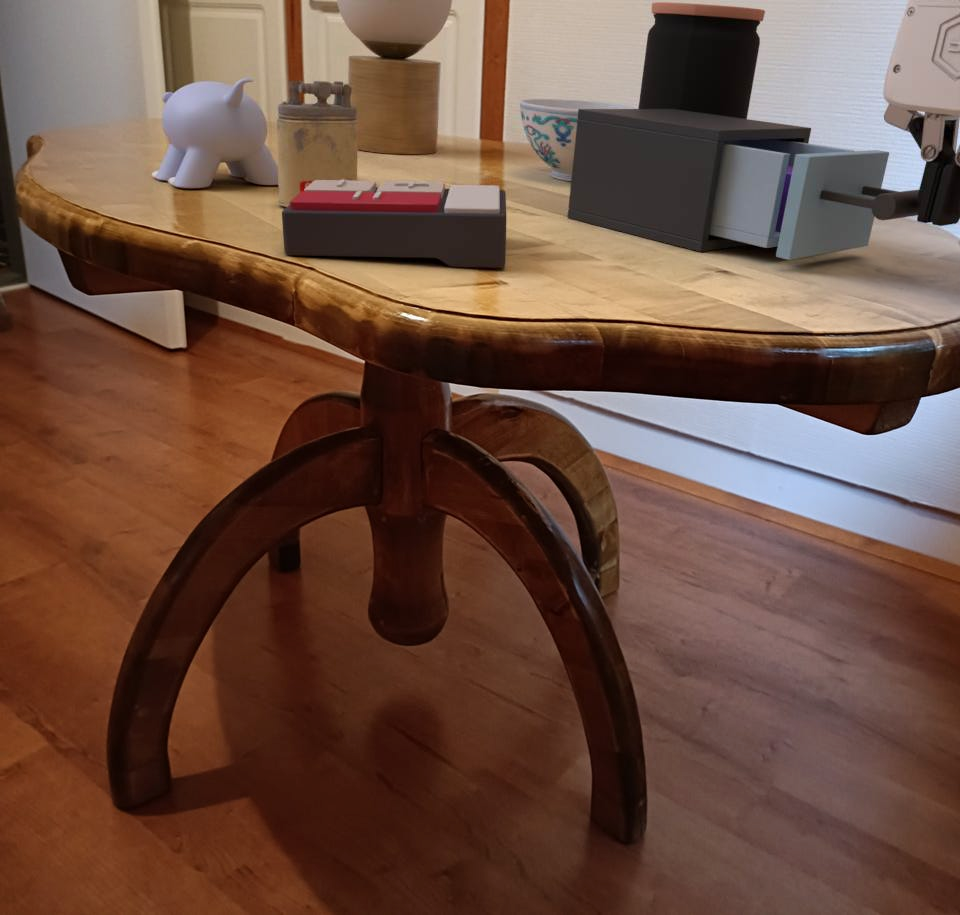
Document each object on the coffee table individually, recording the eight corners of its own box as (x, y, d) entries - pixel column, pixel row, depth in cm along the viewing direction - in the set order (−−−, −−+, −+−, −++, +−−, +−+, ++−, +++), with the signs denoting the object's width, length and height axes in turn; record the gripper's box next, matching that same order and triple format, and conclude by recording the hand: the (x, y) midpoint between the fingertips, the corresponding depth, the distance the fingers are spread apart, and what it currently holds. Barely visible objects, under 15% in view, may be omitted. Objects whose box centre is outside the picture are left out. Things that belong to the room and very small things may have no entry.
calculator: (309, 175, 73) (505, 178, 73) (312, 232, 75) (504, 235, 75) (279, 199, 63) (507, 203, 63) (283, 264, 65) (505, 268, 65)
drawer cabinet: (789, 238, 83) (811, 127, 79) (700, 252, 75) (720, 130, 71) (658, 208, 92) (672, 108, 89) (567, 217, 85) (578, 108, 81)
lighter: (288, 211, 79) (286, 81, 75) (269, 203, 82) (266, 77, 78) (364, 207, 83) (366, 83, 79) (344, 199, 86) (345, 79, 82)
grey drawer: (939, 262, 73) (966, 163, 70) (863, 278, 66) (889, 169, 63) (729, 215, 86) (743, 130, 83) (647, 225, 79) (659, 132, 76)
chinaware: (519, 184, 101) (525, 106, 97) (510, 165, 114) (515, 95, 111) (660, 193, 101) (671, 116, 98) (634, 172, 115) (643, 104, 112)
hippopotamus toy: (233, 165, 99) (229, 66, 96) (301, 189, 89) (300, 79, 85) (129, 168, 93) (120, 63, 89) (189, 194, 83) (182, 76, 79)
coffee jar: (741, 200, 101) (774, 12, 94) (720, 213, 92) (755, 7, 85) (643, 187, 105) (667, 5, 97) (614, 199, 96) (638, 0, 88)
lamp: (332, 136, 128) (332, -77, 118) (436, 141, 131) (446, -66, 121) (337, 151, 115) (339, -88, 104) (454, 156, 117) (466, -76, 107)
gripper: (873, -82, 62) (813, 207, 70) (1130, -88, 52) (1027, 249, 60) (926, -68, 67) (865, 201, 74) (1171, -72, 57) (1071, 239, 64)
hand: (937, 221), depth 67 cm, fingers closed
